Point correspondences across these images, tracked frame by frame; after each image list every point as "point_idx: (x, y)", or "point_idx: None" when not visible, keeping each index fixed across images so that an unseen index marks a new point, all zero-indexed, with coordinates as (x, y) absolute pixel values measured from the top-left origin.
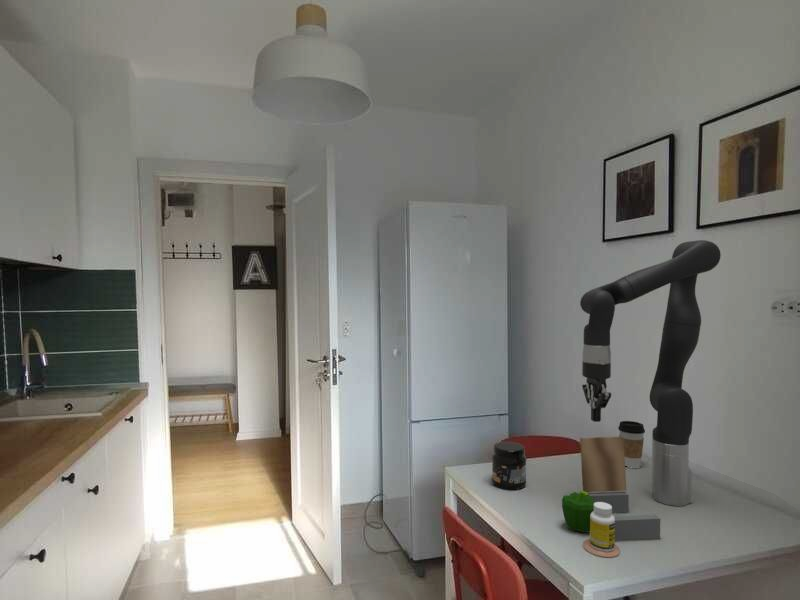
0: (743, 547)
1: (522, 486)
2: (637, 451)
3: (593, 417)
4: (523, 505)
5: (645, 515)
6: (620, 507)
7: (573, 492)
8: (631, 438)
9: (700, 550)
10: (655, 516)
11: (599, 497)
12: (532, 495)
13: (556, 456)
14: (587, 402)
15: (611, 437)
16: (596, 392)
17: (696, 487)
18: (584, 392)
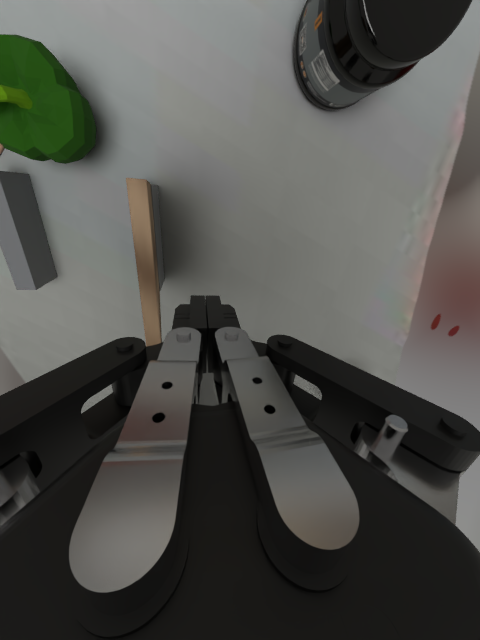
0: (36, 377)
1: (297, 77)
2: None
3: (190, 303)
4: (197, 15)
5: (27, 267)
6: None
7: (69, 104)
8: None
9: (9, 317)
10: (27, 285)
11: None
12: (254, 91)
13: (420, 276)
14: (283, 338)
15: (148, 324)
16: (90, 465)
17: None
18: (376, 383)
